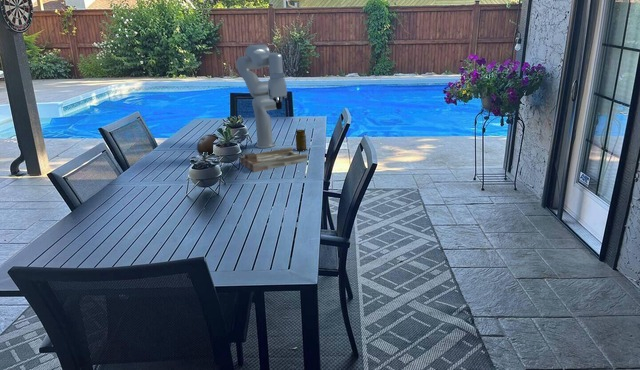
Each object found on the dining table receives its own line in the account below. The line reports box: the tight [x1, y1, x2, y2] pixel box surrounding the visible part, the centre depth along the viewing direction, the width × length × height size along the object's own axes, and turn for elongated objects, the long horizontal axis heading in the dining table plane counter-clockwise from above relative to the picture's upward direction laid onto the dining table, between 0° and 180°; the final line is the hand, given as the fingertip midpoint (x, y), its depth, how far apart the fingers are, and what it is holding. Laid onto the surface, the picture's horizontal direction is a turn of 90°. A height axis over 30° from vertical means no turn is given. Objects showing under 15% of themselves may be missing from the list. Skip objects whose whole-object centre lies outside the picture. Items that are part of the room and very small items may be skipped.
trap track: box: [239, 146, 308, 173], centre depth 269 cm, size 20×32×4 cm, turn 119°
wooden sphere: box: [196, 134, 220, 156], centre depth 279 cm, size 15×15×15 cm
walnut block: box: [244, 152, 257, 162], centre depth 266 cm, size 5×5×4 cm
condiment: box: [293, 129, 307, 153], centre depth 291 cm, size 7×8×12 cm
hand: (279, 108), depth 276 cm, fingers closed
